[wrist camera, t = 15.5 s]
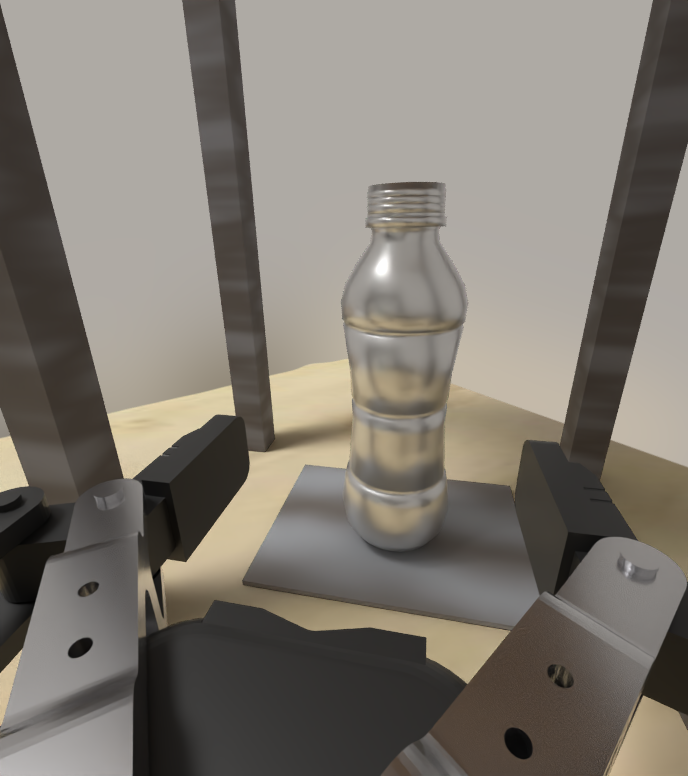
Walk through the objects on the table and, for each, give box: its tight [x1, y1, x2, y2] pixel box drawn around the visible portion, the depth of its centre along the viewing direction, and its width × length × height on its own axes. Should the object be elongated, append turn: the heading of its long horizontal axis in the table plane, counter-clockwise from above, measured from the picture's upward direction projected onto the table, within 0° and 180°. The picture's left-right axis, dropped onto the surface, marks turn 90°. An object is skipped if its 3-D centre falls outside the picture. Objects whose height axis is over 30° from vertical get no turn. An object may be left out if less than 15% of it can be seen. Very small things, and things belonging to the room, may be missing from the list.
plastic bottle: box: [341, 182, 468, 552], centre depth 23 cm, size 6×7×20 cm
